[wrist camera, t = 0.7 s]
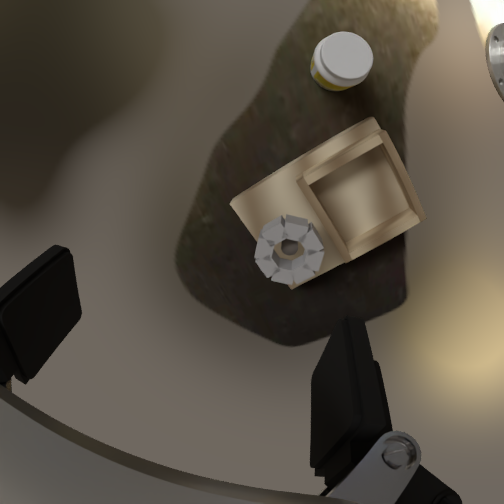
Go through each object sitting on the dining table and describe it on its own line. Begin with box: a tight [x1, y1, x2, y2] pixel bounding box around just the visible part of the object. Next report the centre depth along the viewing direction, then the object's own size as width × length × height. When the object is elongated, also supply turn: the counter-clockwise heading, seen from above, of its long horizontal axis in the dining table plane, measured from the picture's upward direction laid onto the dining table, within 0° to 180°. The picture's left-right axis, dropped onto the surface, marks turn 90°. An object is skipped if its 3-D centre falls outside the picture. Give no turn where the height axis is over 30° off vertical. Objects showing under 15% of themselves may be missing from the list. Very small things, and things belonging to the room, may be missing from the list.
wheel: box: [254, 214, 324, 285], centre depth 28 cm, size 6×6×2 cm
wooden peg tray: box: [230, 117, 426, 289], centre depth 29 cm, size 17×12×6 cm
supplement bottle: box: [310, 32, 373, 91], centre depth 22 cm, size 5×5×8 cm
